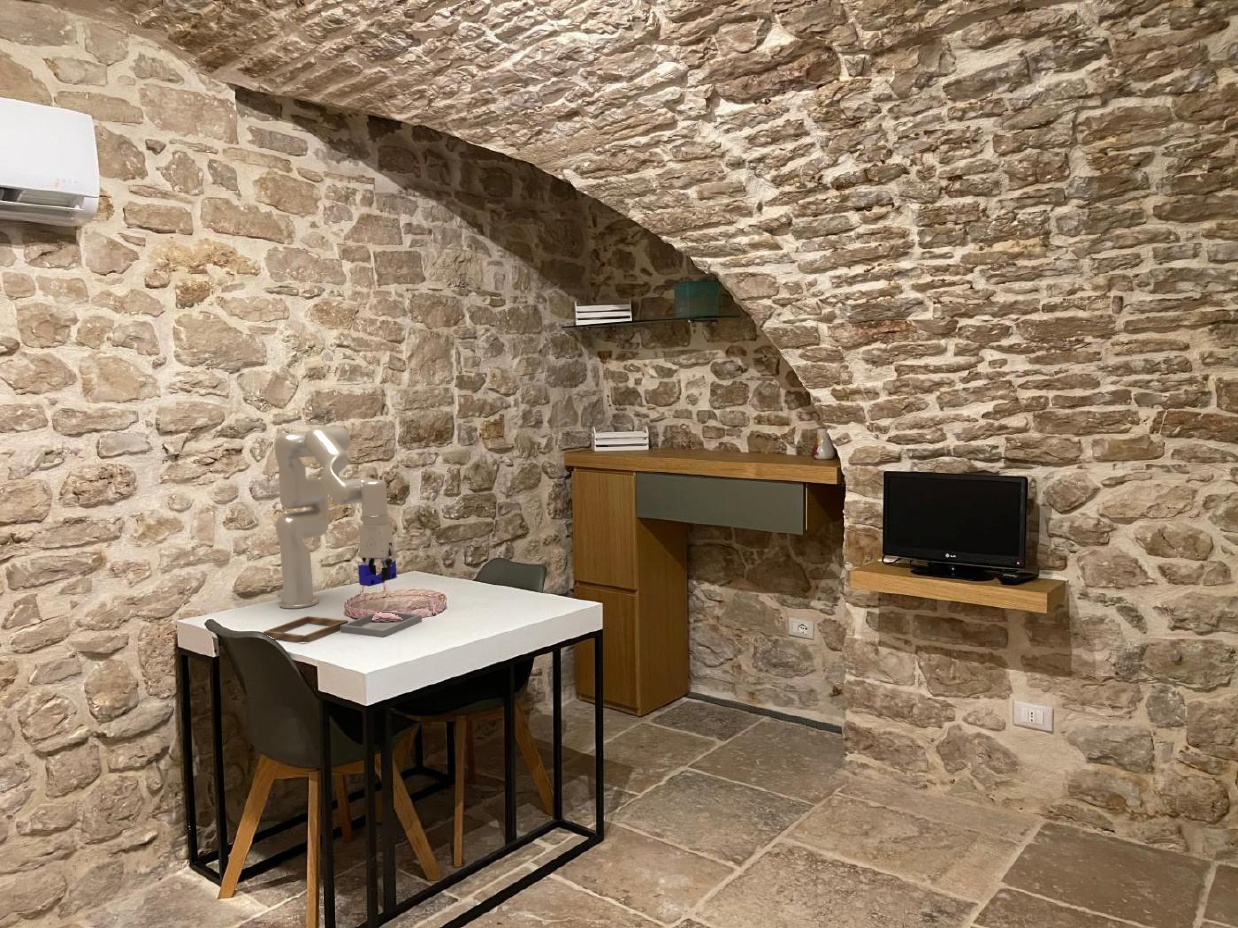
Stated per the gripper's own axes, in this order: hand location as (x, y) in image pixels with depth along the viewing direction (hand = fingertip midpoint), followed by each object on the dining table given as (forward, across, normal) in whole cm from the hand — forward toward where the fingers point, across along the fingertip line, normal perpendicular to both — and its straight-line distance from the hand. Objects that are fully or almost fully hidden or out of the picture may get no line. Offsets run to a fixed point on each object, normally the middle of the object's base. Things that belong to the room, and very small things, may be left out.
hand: (379, 578), depth 292 cm
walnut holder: (+15, -18, -13) cm, 27 cm away
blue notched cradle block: (+1, 0, 0) cm, 1 cm away
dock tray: (+15, 0, 0) cm, 15 cm away
